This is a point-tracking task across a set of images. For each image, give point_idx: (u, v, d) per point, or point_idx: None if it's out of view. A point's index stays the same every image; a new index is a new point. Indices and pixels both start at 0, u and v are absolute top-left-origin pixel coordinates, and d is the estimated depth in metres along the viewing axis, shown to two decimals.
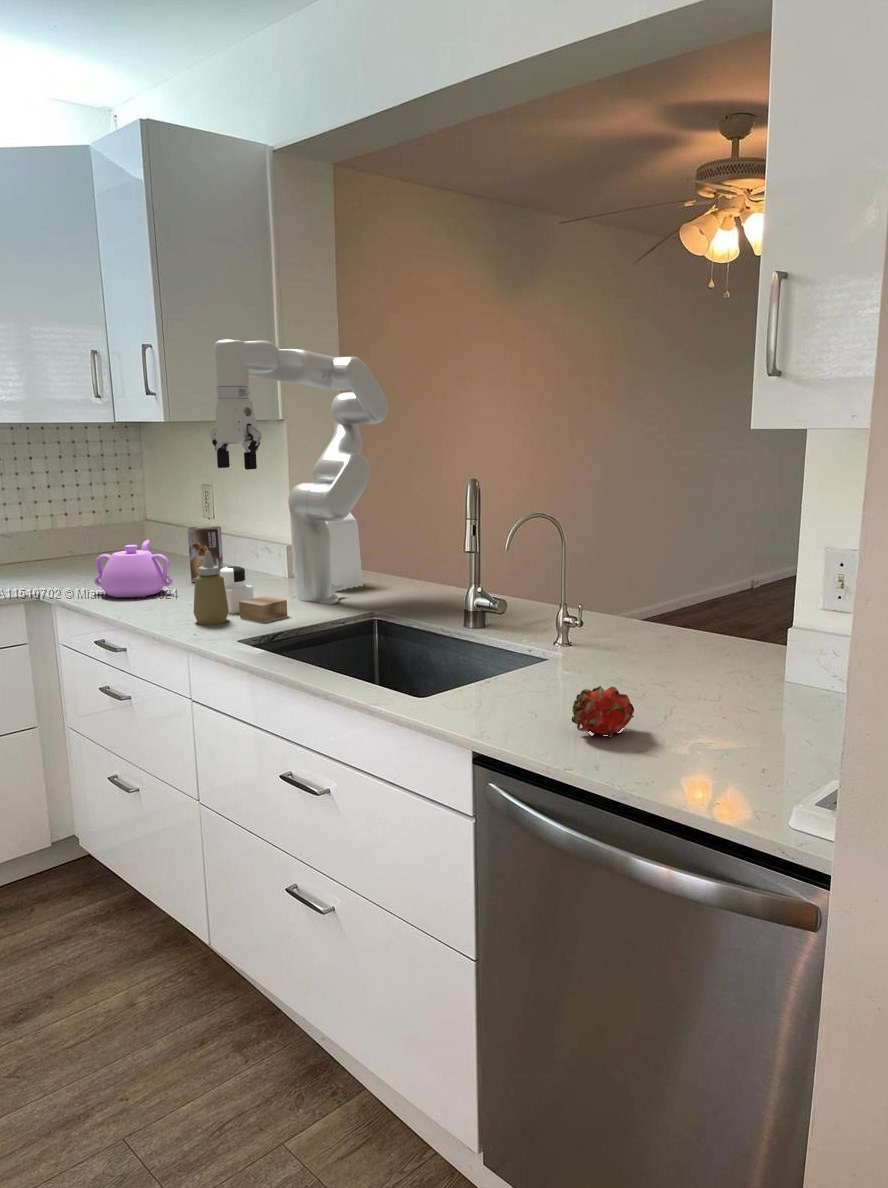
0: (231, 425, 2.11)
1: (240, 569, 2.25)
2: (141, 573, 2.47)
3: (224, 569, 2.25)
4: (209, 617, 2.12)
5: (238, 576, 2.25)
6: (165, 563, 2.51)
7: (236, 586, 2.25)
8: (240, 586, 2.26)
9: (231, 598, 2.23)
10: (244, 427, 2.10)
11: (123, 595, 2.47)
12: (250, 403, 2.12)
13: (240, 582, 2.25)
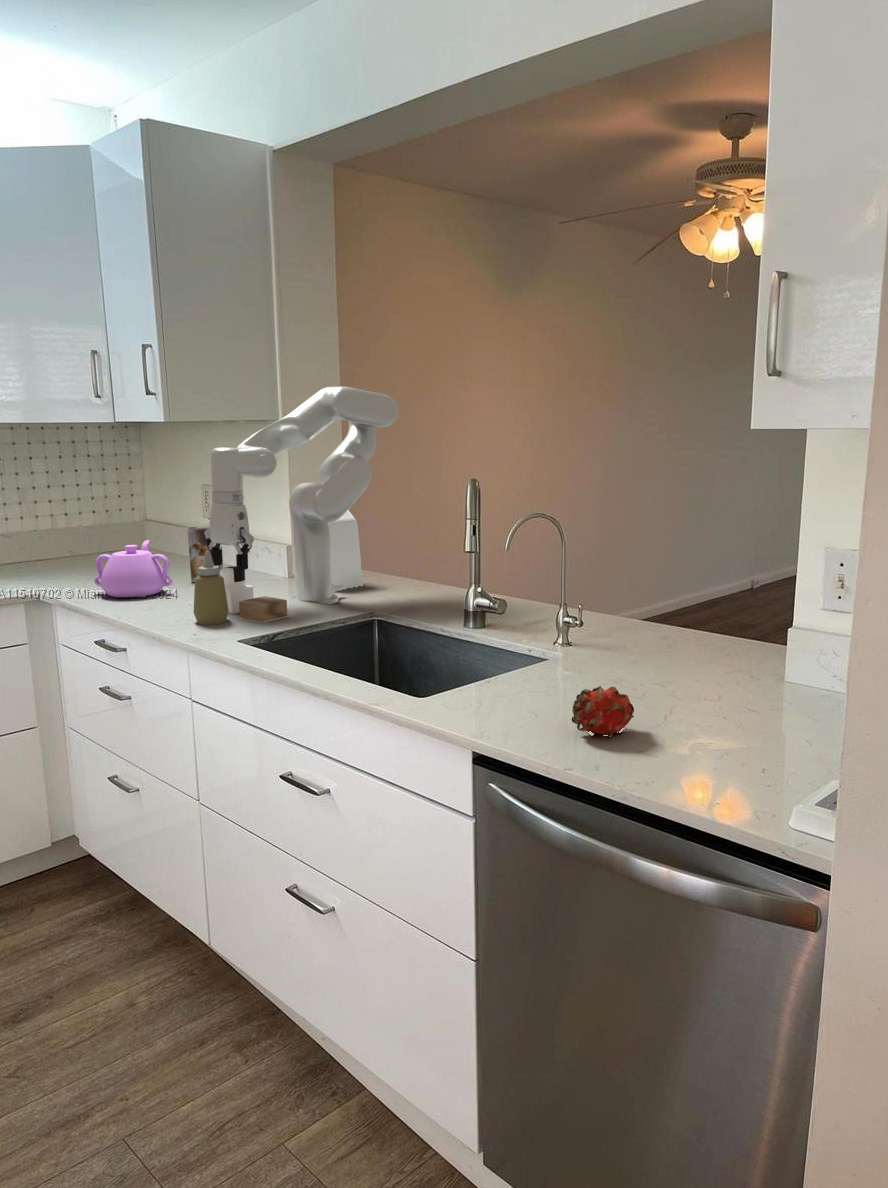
0: (225, 528, 2.21)
1: None
2: (141, 573, 2.47)
3: (224, 569, 2.25)
4: (209, 617, 2.12)
5: (238, 576, 2.25)
6: (164, 563, 2.51)
7: (236, 586, 2.25)
8: (240, 586, 2.26)
9: (231, 598, 2.23)
10: (237, 530, 2.20)
11: (123, 595, 2.47)
12: (243, 507, 2.21)
13: (240, 582, 2.25)
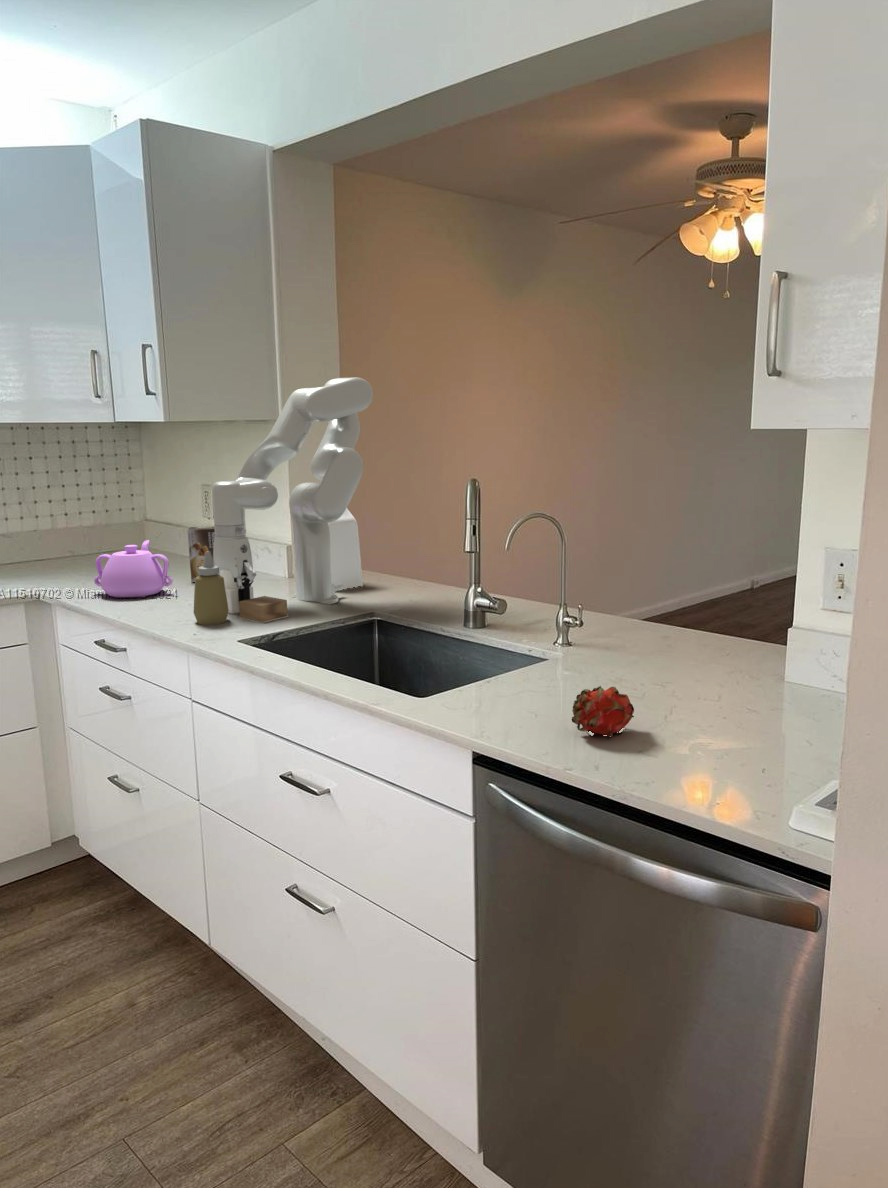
0: (228, 561, 2.23)
1: None
2: (141, 573, 2.47)
3: (224, 569, 2.25)
4: (209, 617, 2.12)
5: None
6: (164, 563, 2.51)
7: (236, 586, 2.25)
8: None
9: (231, 598, 2.23)
10: (240, 564, 2.22)
11: (123, 595, 2.47)
12: (246, 540, 2.23)
13: None
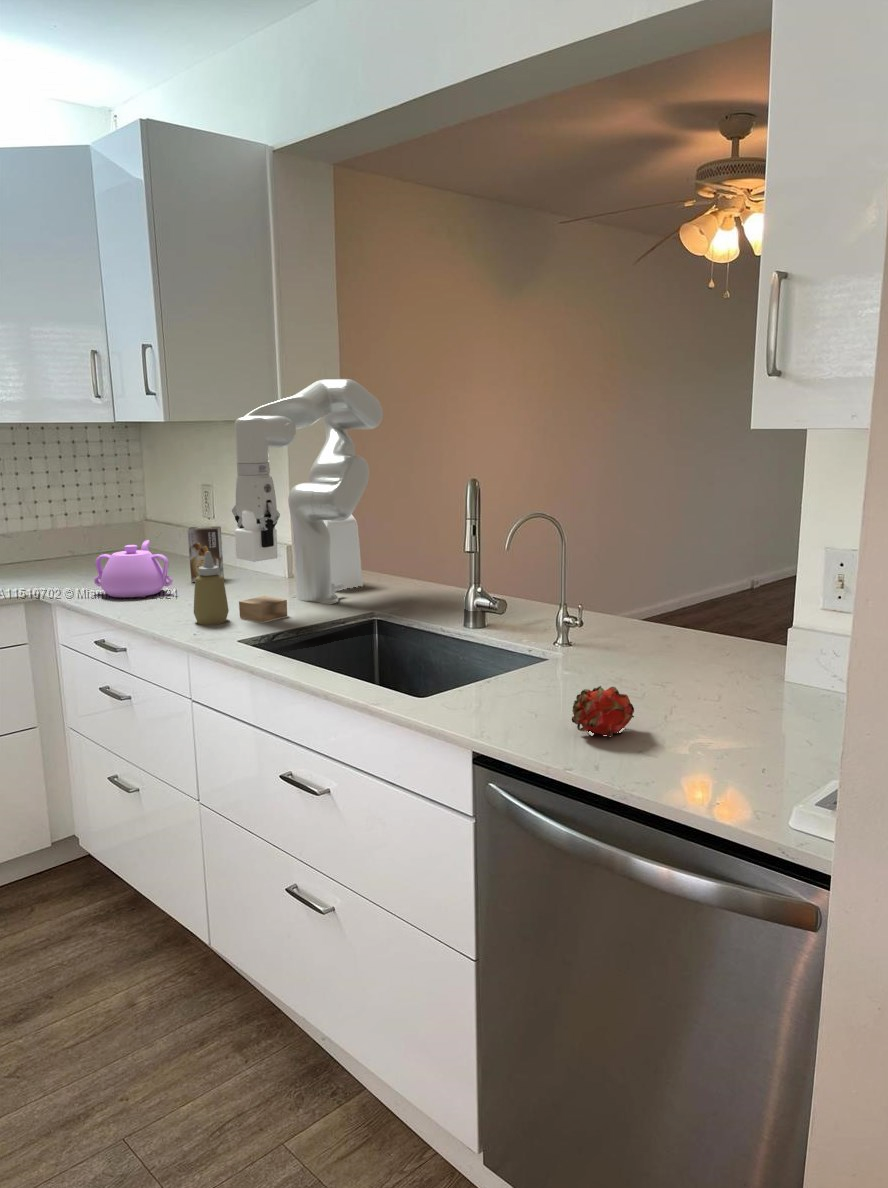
0: (251, 501, 2.12)
1: None
2: (141, 574, 2.47)
3: (246, 510, 2.14)
4: (209, 617, 2.12)
5: None
6: (164, 563, 2.51)
7: (259, 528, 2.14)
8: None
9: (253, 540, 2.12)
10: (264, 503, 2.11)
11: (123, 595, 2.47)
12: (270, 479, 2.12)
13: None
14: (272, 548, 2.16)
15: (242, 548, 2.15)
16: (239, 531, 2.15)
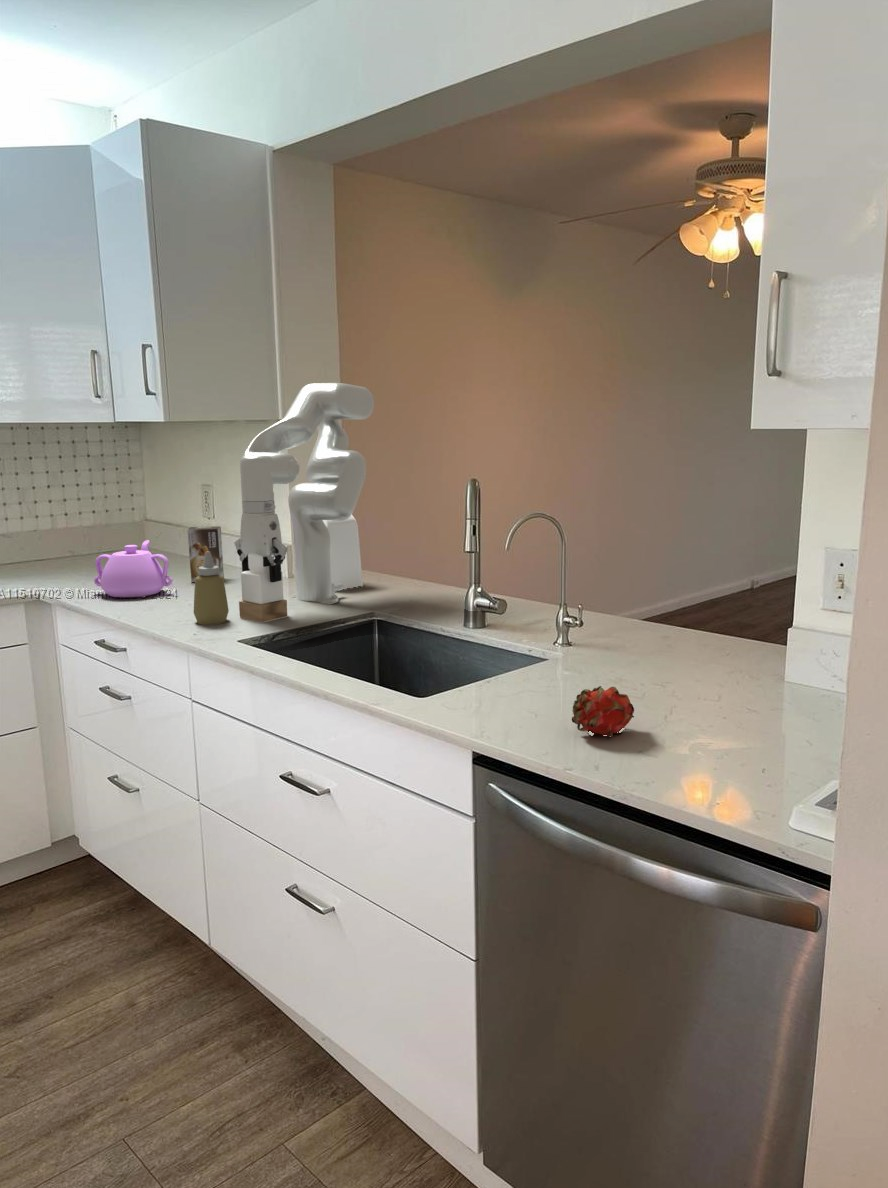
0: (257, 539, 2.13)
1: None
2: (141, 574, 2.47)
3: (252, 553, 2.15)
4: (209, 617, 2.12)
5: (268, 560, 2.15)
6: (164, 563, 2.51)
7: (265, 571, 2.16)
8: None
9: (260, 583, 2.14)
10: (269, 541, 2.12)
11: (123, 595, 2.47)
12: (275, 517, 2.13)
13: None
14: (278, 590, 2.18)
15: (248, 591, 2.17)
16: (245, 574, 2.16)
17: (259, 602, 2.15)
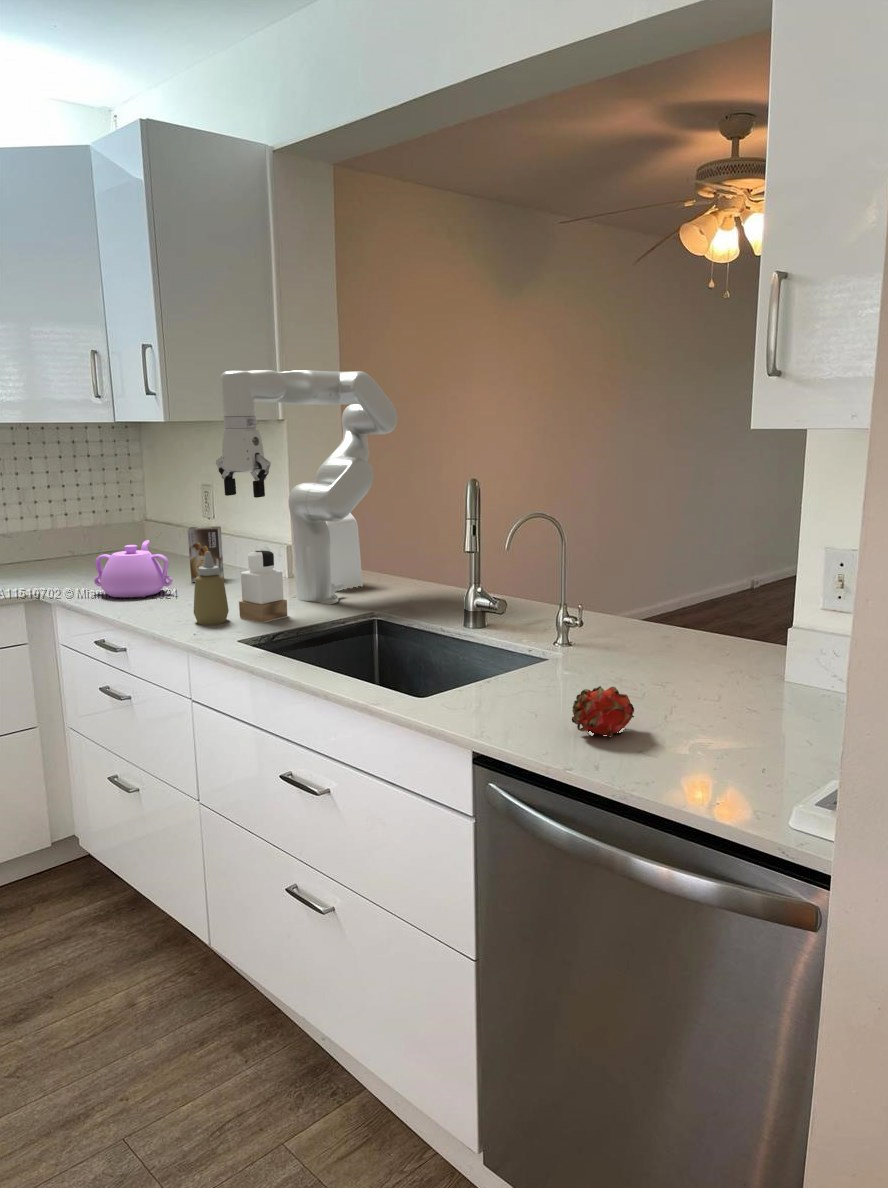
0: (239, 454, 2.15)
1: (269, 553, 2.16)
2: (141, 574, 2.47)
3: (252, 553, 2.15)
4: (209, 617, 2.12)
5: (268, 560, 2.15)
6: (164, 563, 2.51)
7: (265, 571, 2.16)
8: (269, 571, 2.16)
9: (260, 584, 2.14)
10: (253, 456, 2.14)
11: (123, 595, 2.47)
12: (258, 432, 2.15)
13: (269, 567, 2.16)
14: (278, 590, 2.18)
15: (248, 591, 2.17)
16: (245, 574, 2.16)
17: (259, 602, 2.15)
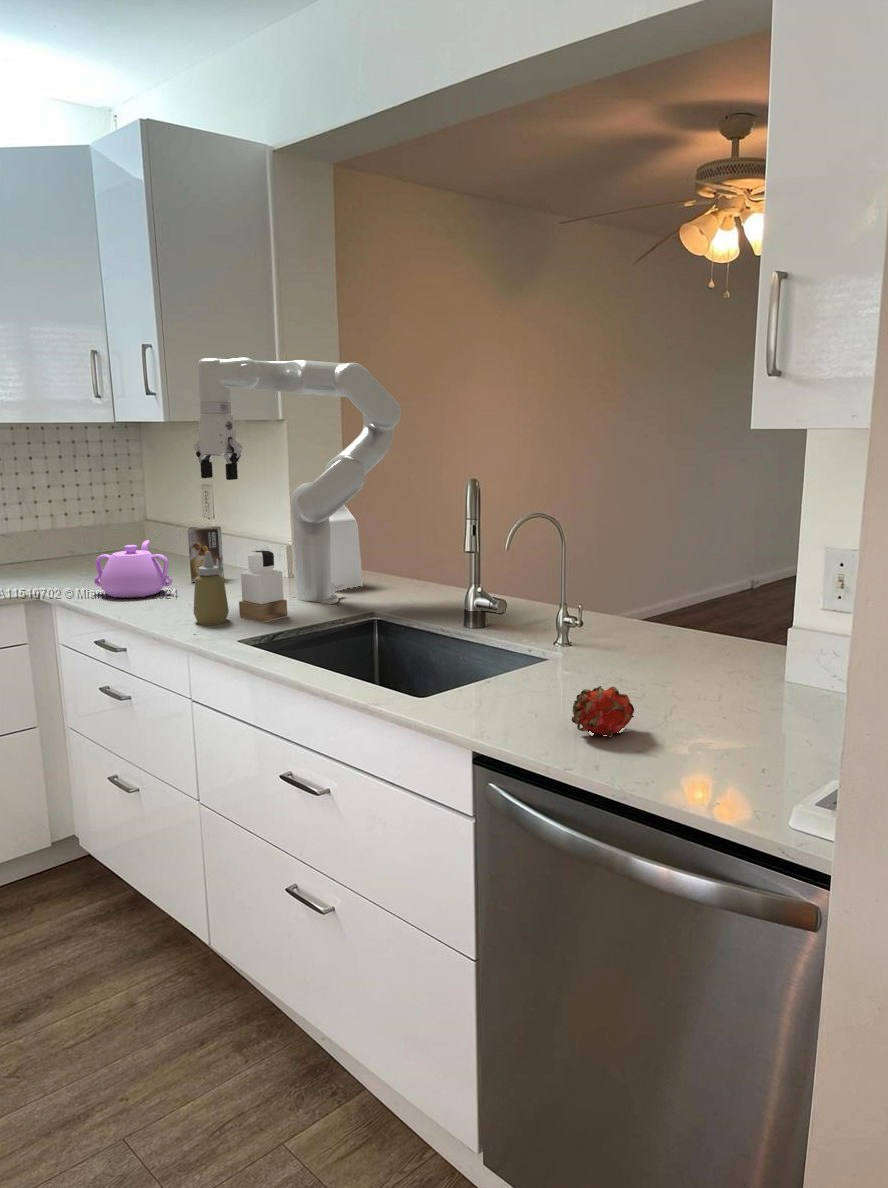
0: (213, 438, 2.25)
1: (269, 553, 2.16)
2: (141, 574, 2.47)
3: (252, 553, 2.15)
4: (209, 617, 2.12)
5: (268, 560, 2.15)
6: (164, 563, 2.51)
7: (265, 571, 2.16)
8: (269, 571, 2.16)
9: (260, 584, 2.14)
10: (225, 440, 2.24)
11: (123, 595, 2.47)
12: (231, 417, 2.25)
13: (269, 567, 2.16)
14: (278, 590, 2.18)
15: (248, 591, 2.17)
16: (245, 574, 2.16)
17: (259, 602, 2.15)
